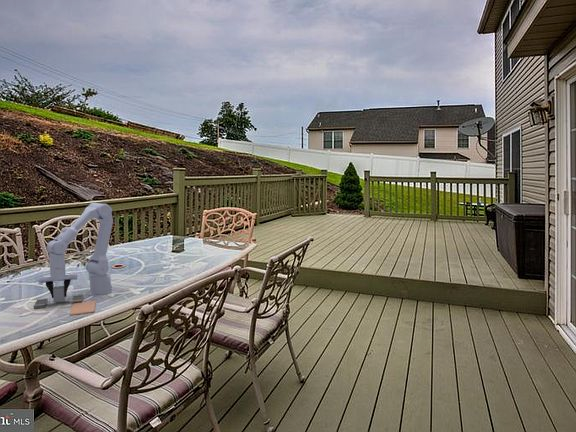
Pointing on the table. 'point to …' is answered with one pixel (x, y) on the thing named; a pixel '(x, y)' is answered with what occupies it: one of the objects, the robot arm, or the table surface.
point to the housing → (43, 302)
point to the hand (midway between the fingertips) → (59, 296)
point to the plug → (58, 294)
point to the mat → (83, 308)
